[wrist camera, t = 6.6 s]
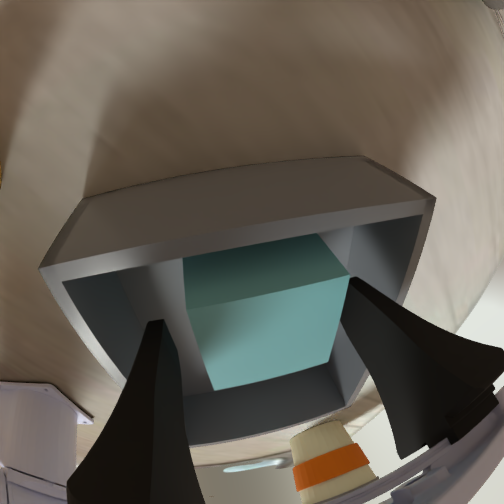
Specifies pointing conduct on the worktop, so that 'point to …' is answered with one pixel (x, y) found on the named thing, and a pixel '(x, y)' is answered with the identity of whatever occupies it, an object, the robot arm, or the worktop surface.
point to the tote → (222, 238)
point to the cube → (264, 308)
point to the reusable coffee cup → (328, 463)
